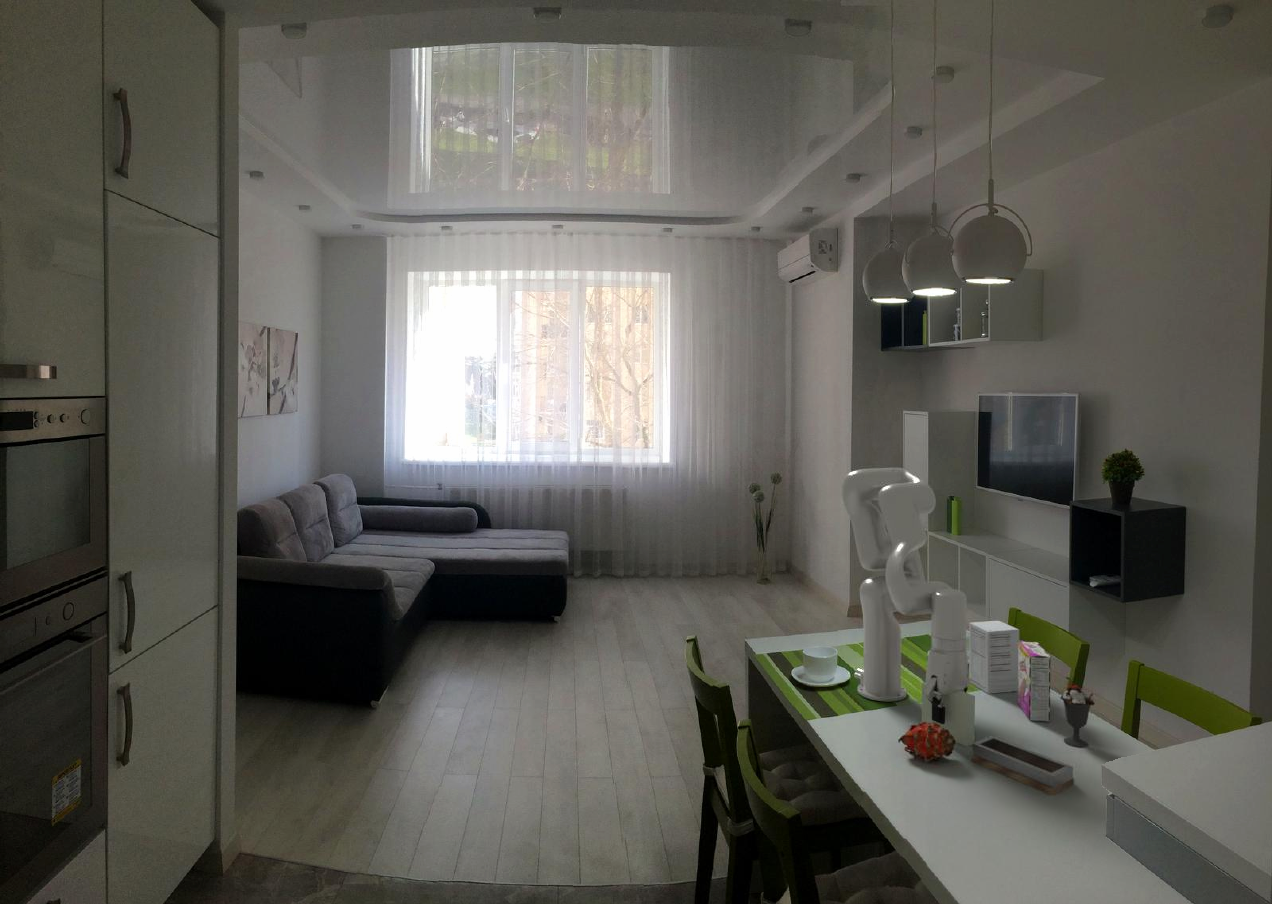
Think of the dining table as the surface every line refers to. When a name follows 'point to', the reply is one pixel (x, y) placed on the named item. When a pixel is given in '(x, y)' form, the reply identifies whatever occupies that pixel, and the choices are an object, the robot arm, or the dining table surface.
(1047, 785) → the open rectangular box
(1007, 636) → the supplement box
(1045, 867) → the dining table surface
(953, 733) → the pale green rectangular block
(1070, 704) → the sundae
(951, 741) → the dragon fruit
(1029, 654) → the candy bar box
